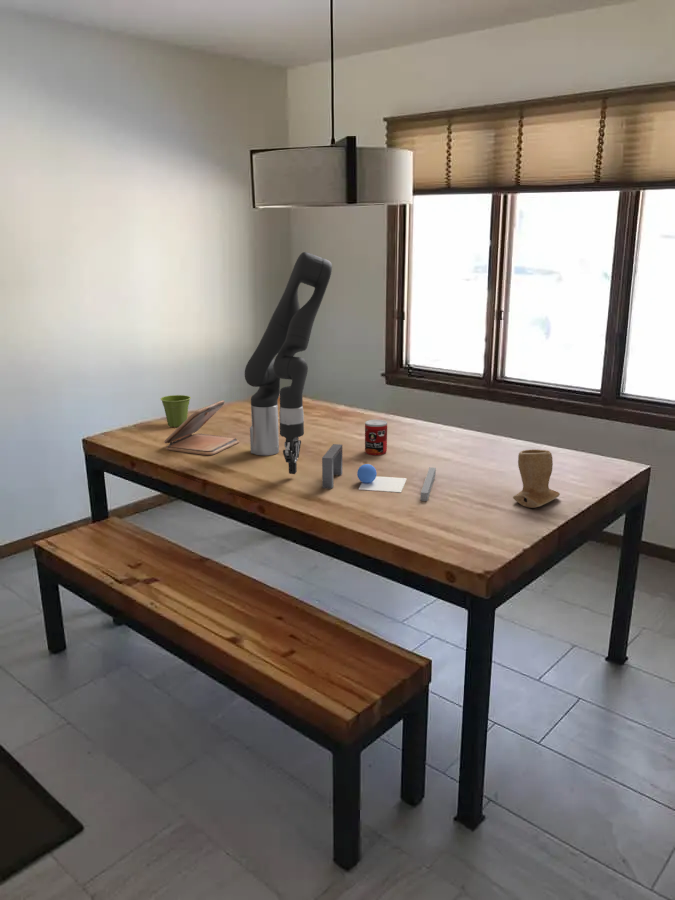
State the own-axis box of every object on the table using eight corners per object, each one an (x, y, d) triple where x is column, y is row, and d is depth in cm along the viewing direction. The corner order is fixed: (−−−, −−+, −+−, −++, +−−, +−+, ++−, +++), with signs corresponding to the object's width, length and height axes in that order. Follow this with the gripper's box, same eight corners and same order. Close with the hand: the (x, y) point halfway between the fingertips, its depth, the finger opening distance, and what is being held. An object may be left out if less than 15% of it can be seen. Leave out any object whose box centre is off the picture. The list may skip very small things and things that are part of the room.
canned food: (361, 454, 265) (361, 423, 261) (369, 448, 272) (369, 418, 268) (382, 456, 262) (383, 425, 259) (389, 450, 269) (390, 420, 266)
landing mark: (358, 489, 229) (358, 488, 229) (366, 476, 242) (366, 475, 242) (401, 492, 227) (401, 492, 227) (406, 478, 239) (406, 478, 239)
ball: (364, 463, 231) (378, 478, 231) (369, 457, 236) (382, 471, 236) (351, 475, 233) (364, 489, 233) (355, 469, 238) (368, 483, 239)
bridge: (322, 488, 231) (322, 457, 228) (333, 472, 245) (333, 444, 242) (331, 488, 230) (331, 458, 227) (342, 473, 244) (342, 444, 241)
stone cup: (528, 489, 229) (531, 441, 225) (564, 498, 221) (568, 449, 217) (501, 502, 219) (504, 452, 214) (538, 512, 211) (542, 461, 207)
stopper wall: (420, 500, 220) (420, 492, 220) (429, 474, 243) (429, 467, 242) (427, 501, 220) (427, 492, 219) (435, 475, 242) (435, 467, 242)
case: (195, 436, 289) (192, 395, 284) (242, 442, 280) (240, 400, 275) (161, 450, 271) (158, 407, 266) (211, 458, 262) (208, 413, 258)
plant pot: (198, 424, 304) (197, 397, 300) (174, 430, 295) (172, 402, 292) (180, 420, 311) (178, 393, 308) (156, 425, 302) (154, 398, 299)
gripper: (286, 414, 242) (287, 466, 247) (273, 425, 229) (275, 479, 234) (308, 415, 240) (309, 467, 245) (297, 426, 228) (298, 480, 233)
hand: (292, 473), depth 240 cm, fingers closed
